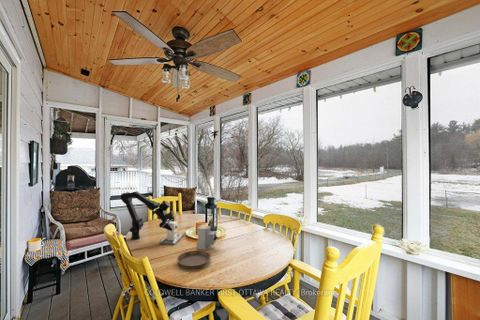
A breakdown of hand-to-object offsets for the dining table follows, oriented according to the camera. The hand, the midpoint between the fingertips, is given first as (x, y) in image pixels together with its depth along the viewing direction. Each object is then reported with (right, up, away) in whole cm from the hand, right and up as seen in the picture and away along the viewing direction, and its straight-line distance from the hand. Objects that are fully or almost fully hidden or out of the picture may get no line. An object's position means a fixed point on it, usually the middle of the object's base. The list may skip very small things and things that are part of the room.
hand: (174, 228), depth 175 cm
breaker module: (-2, -8, 0) cm, 8 cm away
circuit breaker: (+30, -9, -15) cm, 35 cm away
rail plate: (-1, -9, 0) cm, 9 cm away
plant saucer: (+25, -9, -39) cm, 47 cm away
